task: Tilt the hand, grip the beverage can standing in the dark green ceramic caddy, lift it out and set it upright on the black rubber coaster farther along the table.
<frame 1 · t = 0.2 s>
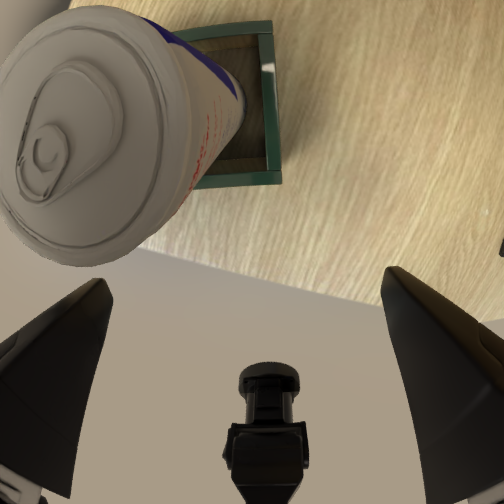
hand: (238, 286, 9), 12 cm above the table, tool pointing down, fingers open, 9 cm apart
beverage can: (204, 106, 17), resting in caddy
caddy: (204, 106, 17), on the table
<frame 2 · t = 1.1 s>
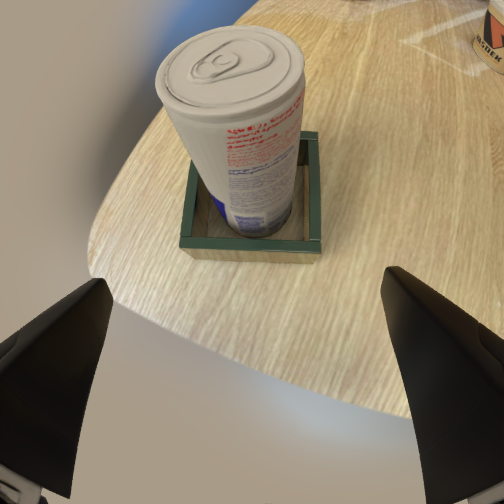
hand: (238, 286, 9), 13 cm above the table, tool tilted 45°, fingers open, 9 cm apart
coffee cup: (489, 59, 26), on the table
beverage can: (256, 206, 23), resting in caddy
caddy: (256, 205, 23), on the table
when the fingers open (8 cm above the table, at t = 12.4 s): beverage can stays where it is, resting on coaster.
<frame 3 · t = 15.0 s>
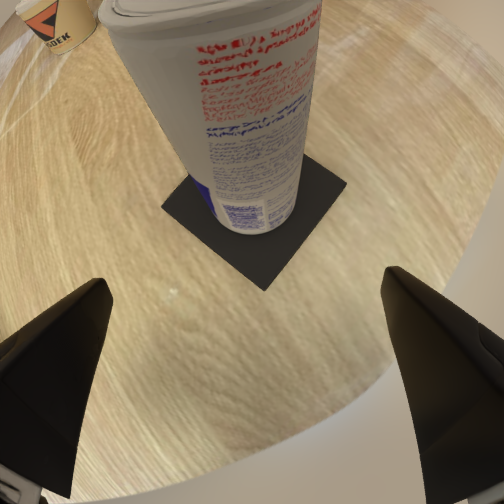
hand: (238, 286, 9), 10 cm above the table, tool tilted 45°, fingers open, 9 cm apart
coffee cup: (75, 38, 28), on the table
beverage can: (253, 196, 19), resting on coaster
coaster: (253, 196, 19), on the table
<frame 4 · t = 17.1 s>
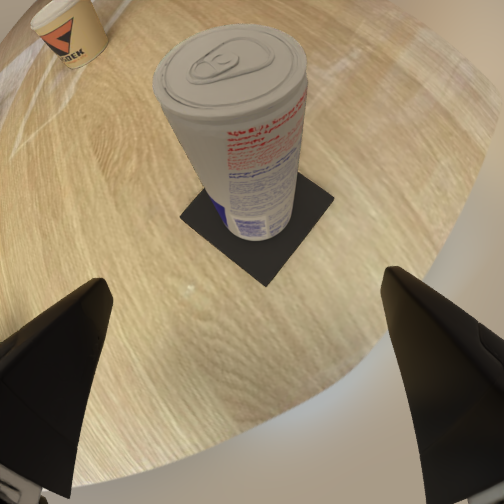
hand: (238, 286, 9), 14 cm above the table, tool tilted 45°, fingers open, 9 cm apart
coffee cup: (88, 53, 32), on the table
beverage can: (256, 208, 23), resting on coaster
coaster: (257, 208, 23), on the table
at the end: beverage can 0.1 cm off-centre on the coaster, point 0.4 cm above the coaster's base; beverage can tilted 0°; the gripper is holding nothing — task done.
